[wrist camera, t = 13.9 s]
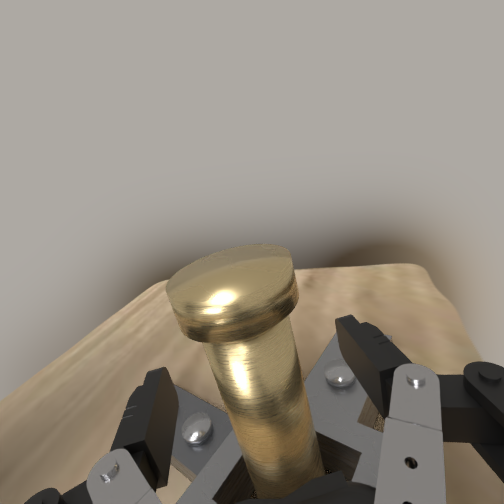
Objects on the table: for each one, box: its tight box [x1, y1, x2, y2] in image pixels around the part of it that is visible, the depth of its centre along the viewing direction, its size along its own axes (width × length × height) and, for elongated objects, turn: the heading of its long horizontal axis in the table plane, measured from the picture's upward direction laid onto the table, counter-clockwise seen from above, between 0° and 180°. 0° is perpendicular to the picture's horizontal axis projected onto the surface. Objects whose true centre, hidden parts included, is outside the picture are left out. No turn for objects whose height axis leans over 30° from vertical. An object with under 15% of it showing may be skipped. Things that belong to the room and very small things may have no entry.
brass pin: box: [166, 244, 325, 499], centre depth 13 cm, size 5×5×14 cm
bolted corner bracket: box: [171, 332, 392, 504], centre depth 20 cm, size 18×16×4 cm
